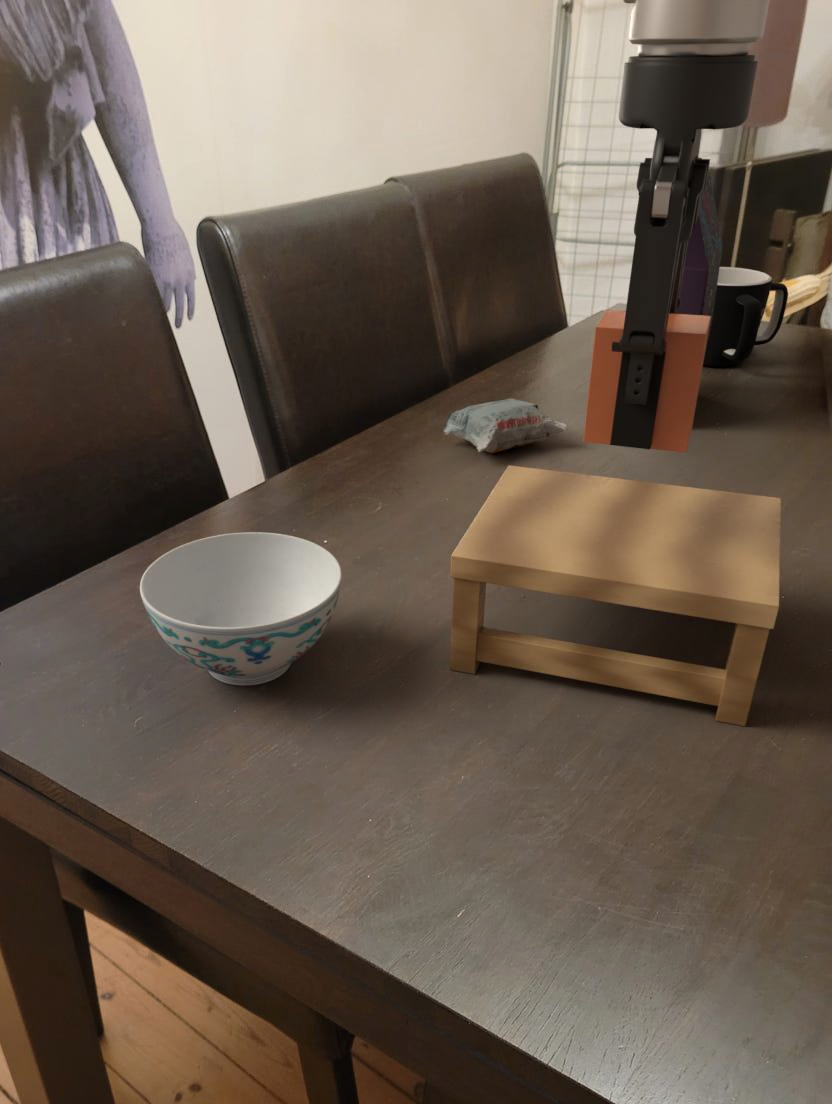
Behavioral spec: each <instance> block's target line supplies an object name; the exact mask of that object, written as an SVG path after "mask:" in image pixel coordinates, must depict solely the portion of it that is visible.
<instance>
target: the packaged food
mask: <svg viewBox="0 0 832 1104" xmlns="http://www.w3.org/2000/svg"><path fill="white" fill-rule="evenodd" d="M566 429H567V424H565V423H563V422H559V421H556V420H553V419H551V417H549V416H548V415H546V414H545V413H544V412H543V411H541V410H540V409H539V405H538V404H536V403H532V402H528V401H524V400H520V399H516V398H505V399H501V400H495V401H488V402H483V403H478V404H473V405H468V406H466V407H464V408H461V409H458V410H456V411H454V412H453V413H451V414H450V416H449V418H448V419H447V420H446V421H445V426H444V427H443V434H444V435H450V434H452V435H454V436H455V437H456V438H459V439H462V440H463V441H465V442H467V443H468V444H470V445H472V446H473V447H475V448H476V450H477V452H478V453H481V452H487V453H490V454H494V453H498V452H503V451H506V450H509V449H510V450H511V449H515V448H522V447H525V446H527V445H531V444H534V443H538V442H541V441H544V440H548V439H551V437H553V436H556V435H558V434H560V433H563V432H564V431H566Z"/></svg>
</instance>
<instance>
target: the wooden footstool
mask: <svg viewBox="0 0 832 1104" xmlns="http://www.w3.org/2000/svg"><path fill="white" fill-rule="evenodd" d="M781 517H782V498H781V497H774V496H766V495H757V494H748V493H740V492H733V491H723V490H716V489H708V488H707V489H706V488H698V487H692V486H691V487H690V486H684V485H683V486H682V485H673V484H666V483H659V482H658V483H657V482H649V481H642V480H641V481H640V480H633V479H625V478H617V477H608V476H599V475H593V474H592V475H591V474H583V473H576V472H567V471H558V470H551V469H543V468H535V467H526V466H519V465H518V466H517V465H508V466H507V468H506V469H505V470H504V472H503V474H502V475H501V476H500V478H499V480H498V481H497V483H496V484H495V486H494V488H493V489H492V490H491V492H490V494H489V496H488V497H487V499H486V500H485V502H484V503H483V505H482V507H481V508H480V510H479V511H478V513H477V514H476V516H475V517H474V519H473V521H472V522H471V524H470V525H469V527H468V529H467V530H466V532H465V533H464V534H463V536H462V538H461V540H460V541H459V543H458V544H457V545H456V547H455V549H454V550H453V552H452V554H450V555H451V556H450V578H453V582H452V583H453V585H452V607H451V608H452V610H451V633H450V637H451V638H450V655H449V656H450V657H449V659H450V660H449V670H451V671H457V672H460V673H467V674H471V675H475V674H476V671H477V670H478V668H479V667H480V664H481V662H482V663H487V664H493V665H497V666H503V667H508V668H513V669H518V670H524V671H528V672H529V671H530V672H534V673H540V674H545V675H551V676H556V677H561V678H566V679H572V680H577V681H583V682H588V683H593V684H599V685H604V686H609V687H615V688H620V689H625V690H631V691H636V692H641V693H645V694H651V695H657V696H662V697H667V698H673V699H678V700H684V701H689V702H694V703H699V704H705V705H709V706H710V705H711V706H716V713H715V721H716V722H721V723H726V724H731V725H735V726H743V727H746V725H747V721H748V717H749V713H750V711H751V710H750V709H751V705H752V701H753V697H754V693H755V691H756V686H757V682H758V678H759V675H760V669H761V667H762V662H763V658H764V653H765V650H766V646H767V642H768V638H769V634H770V631H771V630H774V628H775V625H776V621H777V617H778V613H779V610H780V593H781V592H780V591H781V590H780V585H781V583H780V581H781V579H780V578H781V525H782V523H781V521H782V518H781ZM487 584H491V585H497V586H504V587H509V588H516V589H522V590H529V591H534V592H540V593H546V594H551V595H558V596H565V597H571V598H576V599H577V598H578V599H582V600H583V599H584V600H590V601H595V602H602V603H609V604H615V605H621V606H626V607H627V606H628V607H632V608H633V607H634V608H639V609H645V610H646V609H647V610H652V611H658V612H665V613H670V614H677V615H683V616H689V617H695V618H702V619H707V620H712V621H713V620H714V621H719V622H725V623H726V622H727V623H733V624H735V625H734V630H733V633H732V639H731V643H730V647H729V652H728V656H727V661H726V665H725V669H724V668H718V667H712V666H706V665H702V664H701V665H700V664H695V663H691V662H684V661H679V660H673V659H667V658H661V657H656V656H649V655H644V654H639V653H632V652H627V651H621V650H616V649H610V648H605V647H599V646H593V645H588V644H581V643H576V642H569V641H564V640H560V639H554V638H553V639H552V638H548V637H541V636H536V635H530V634H525V633H519V632H513V631H508V630H502V629H496V628H491V627H485V626H484V622H485V605H486V591H487V589H486V588H487Z"/></svg>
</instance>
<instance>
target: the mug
mask: <svg viewBox="0 0 832 1104" xmlns="http://www.w3.org/2000/svg"><path fill="white" fill-rule="evenodd" d="M770 292H775V293H774V300H773V305H772V310H771V314H770V318H769V321H768V324H767V326H766V327H765V329H764V330H763V332H762V333H761V334H759V333H758V332H759V329H760V327H761V323H762V321H763V317H764V315H765V312H766V307H767V304H768V300H769V297H770ZM788 299H789V291H788V286H786V284H784V283H782V282H773V278H772V276H771V275H769V274H768V273H766V272H762V271H760V270H755V269H750V268H743V267H734V266H733V267H732V266H720V268H719V275H718V282H717V289H716V297H715V304H714V311H713V318H712V325H711V329H710V334H709V339H708V343H707V348H706V352H705V357H704V362H703V366H704V365H707V366H706V367H715V366H719V367H731V365H732V366H735V365H739V364H741V363H743V362H744V361H745V360H746V359H748V358H749V357H750V356H751V354H752V352H753V350H754V348H755V346H761V345H766V344H769V342H771V341H772V340H773V339H774V338H775V337H776V336H777V334H778V332H779V330H780V329H781V326H782V323H783V320H784V317H785V312H786V308H787V303H788Z"/></svg>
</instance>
